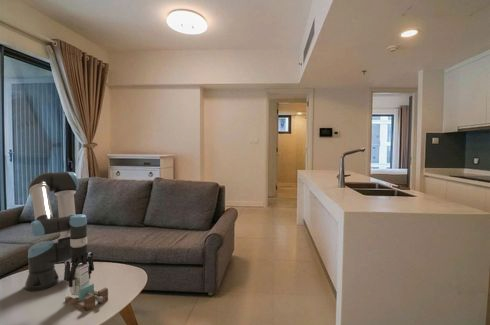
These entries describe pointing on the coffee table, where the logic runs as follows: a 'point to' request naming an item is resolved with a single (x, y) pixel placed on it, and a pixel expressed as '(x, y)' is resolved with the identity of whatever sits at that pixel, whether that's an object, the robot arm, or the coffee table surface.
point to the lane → (89, 300)
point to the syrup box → (80, 278)
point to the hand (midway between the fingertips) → (80, 288)
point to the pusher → (88, 293)
